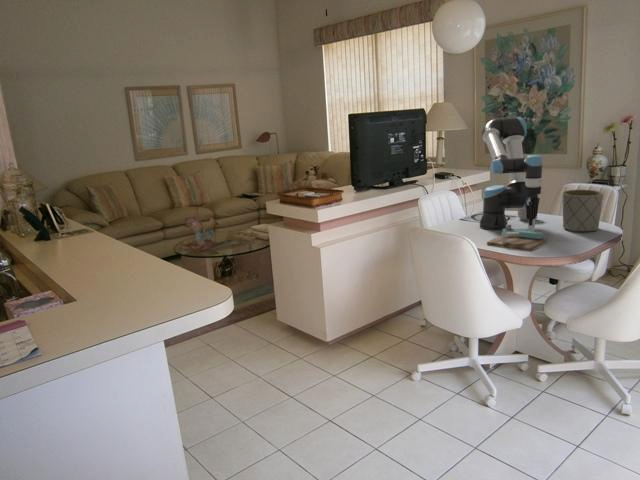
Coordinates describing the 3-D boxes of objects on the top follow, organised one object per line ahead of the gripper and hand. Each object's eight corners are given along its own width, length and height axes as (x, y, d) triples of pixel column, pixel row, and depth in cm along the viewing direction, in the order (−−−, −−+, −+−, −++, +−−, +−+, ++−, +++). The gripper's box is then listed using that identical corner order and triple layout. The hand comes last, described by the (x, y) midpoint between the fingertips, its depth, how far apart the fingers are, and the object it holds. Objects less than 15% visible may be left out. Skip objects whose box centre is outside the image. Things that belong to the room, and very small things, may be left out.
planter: (605, 233, 257) (608, 195, 252) (566, 233, 261) (568, 196, 256) (593, 224, 275) (596, 188, 270) (556, 225, 279) (558, 190, 274)
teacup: (534, 222, 289) (535, 208, 287) (515, 221, 295) (515, 207, 293) (538, 217, 301) (539, 204, 299) (519, 216, 306) (520, 203, 304)
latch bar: (500, 234, 261) (500, 229, 260) (505, 232, 265) (505, 227, 264) (539, 239, 247) (539, 234, 246) (543, 237, 251) (543, 232, 250)
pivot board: (487, 244, 252) (487, 231, 250) (505, 235, 266) (506, 223, 264) (530, 251, 236) (531, 237, 235) (547, 241, 251) (548, 228, 249)
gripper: (535, 188, 246) (533, 234, 252) (545, 184, 254) (543, 229, 260) (520, 187, 251) (518, 232, 257) (530, 183, 260) (529, 227, 266)
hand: (531, 231), depth 259 cm, fingers closed
